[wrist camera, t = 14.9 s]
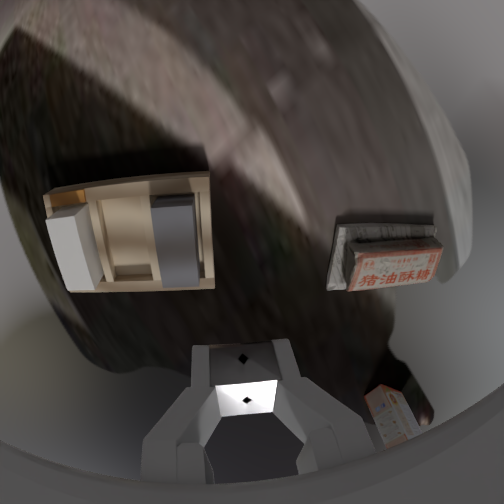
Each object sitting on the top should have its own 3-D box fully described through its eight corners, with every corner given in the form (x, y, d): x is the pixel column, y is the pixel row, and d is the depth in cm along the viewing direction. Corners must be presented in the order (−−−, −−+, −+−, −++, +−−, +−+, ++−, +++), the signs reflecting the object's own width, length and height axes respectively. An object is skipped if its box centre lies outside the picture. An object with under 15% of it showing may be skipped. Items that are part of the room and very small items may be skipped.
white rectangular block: (61, 207, 27) (45, 220, 23) (88, 203, 27) (74, 215, 23) (79, 272, 31) (67, 290, 27) (105, 271, 31) (95, 290, 28)
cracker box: (361, 396, 57) (391, 465, 39) (381, 382, 55) (415, 451, 37) (384, 403, 63) (411, 461, 44) (401, 391, 61) (431, 449, 43)
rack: (55, 188, 27) (31, 202, 22) (209, 170, 29) (208, 182, 24) (78, 279, 33) (63, 303, 28) (214, 274, 35) (215, 301, 30)
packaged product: (451, 235, 32) (432, 292, 37) (432, 222, 37) (416, 276, 41) (349, 237, 30) (335, 306, 35) (333, 221, 34) (323, 286, 39)
